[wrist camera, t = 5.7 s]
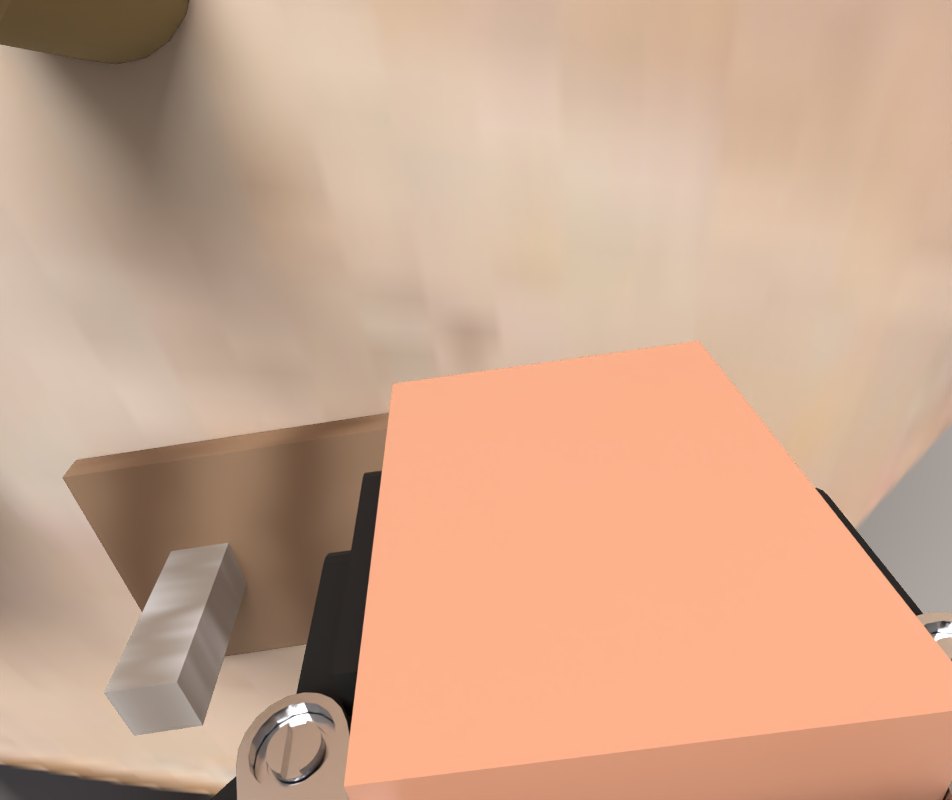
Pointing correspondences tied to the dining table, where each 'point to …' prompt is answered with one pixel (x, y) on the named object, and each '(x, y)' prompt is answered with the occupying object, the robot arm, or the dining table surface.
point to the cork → (91, 27)
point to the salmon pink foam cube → (627, 603)
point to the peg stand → (221, 551)
